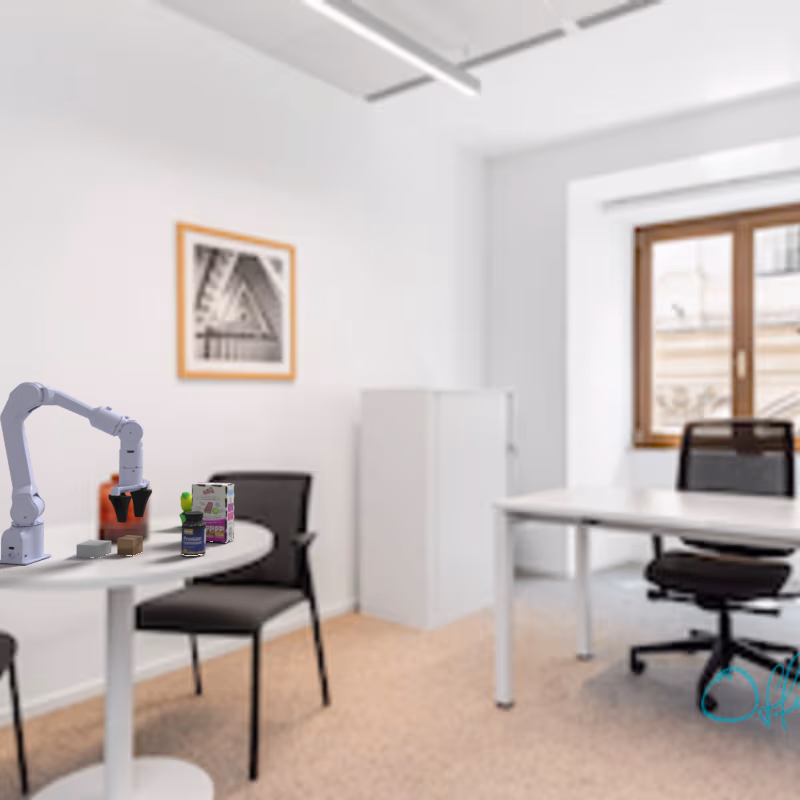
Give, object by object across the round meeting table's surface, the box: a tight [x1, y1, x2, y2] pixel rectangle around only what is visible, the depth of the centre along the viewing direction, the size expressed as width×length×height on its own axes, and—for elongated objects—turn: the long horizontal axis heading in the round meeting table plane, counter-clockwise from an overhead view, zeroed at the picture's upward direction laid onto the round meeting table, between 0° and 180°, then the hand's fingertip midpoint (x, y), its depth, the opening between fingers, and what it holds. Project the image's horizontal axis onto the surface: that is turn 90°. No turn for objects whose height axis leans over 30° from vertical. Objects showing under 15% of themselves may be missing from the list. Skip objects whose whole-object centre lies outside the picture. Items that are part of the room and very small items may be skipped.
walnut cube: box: [116, 534, 144, 556], centre depth 183 cm, size 4×4×4 cm
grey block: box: [75, 539, 112, 559], centre depth 181 cm, size 6×6×4 cm
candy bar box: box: [191, 481, 235, 543], centre depth 200 cm, size 11×5×16 cm, turn 76°
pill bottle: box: [180, 511, 207, 555], centre depth 183 cm, size 6×6×11 cm
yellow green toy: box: [178, 491, 192, 524], centre depth 219 cm, size 11×9×11 cm
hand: (130, 519), depth 183 cm, fingers open, 7 cm apart
